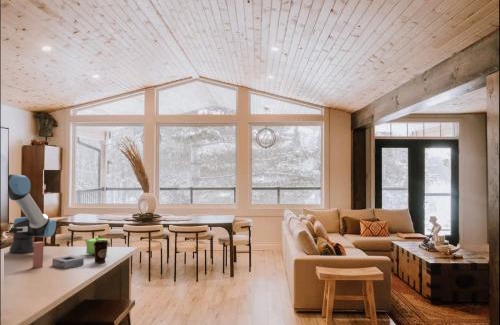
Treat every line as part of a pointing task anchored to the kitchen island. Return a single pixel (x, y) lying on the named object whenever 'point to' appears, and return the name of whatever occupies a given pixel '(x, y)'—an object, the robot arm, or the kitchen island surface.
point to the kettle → (92, 245)
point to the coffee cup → (100, 250)
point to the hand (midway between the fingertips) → (20, 227)
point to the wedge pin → (38, 254)
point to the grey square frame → (67, 262)
